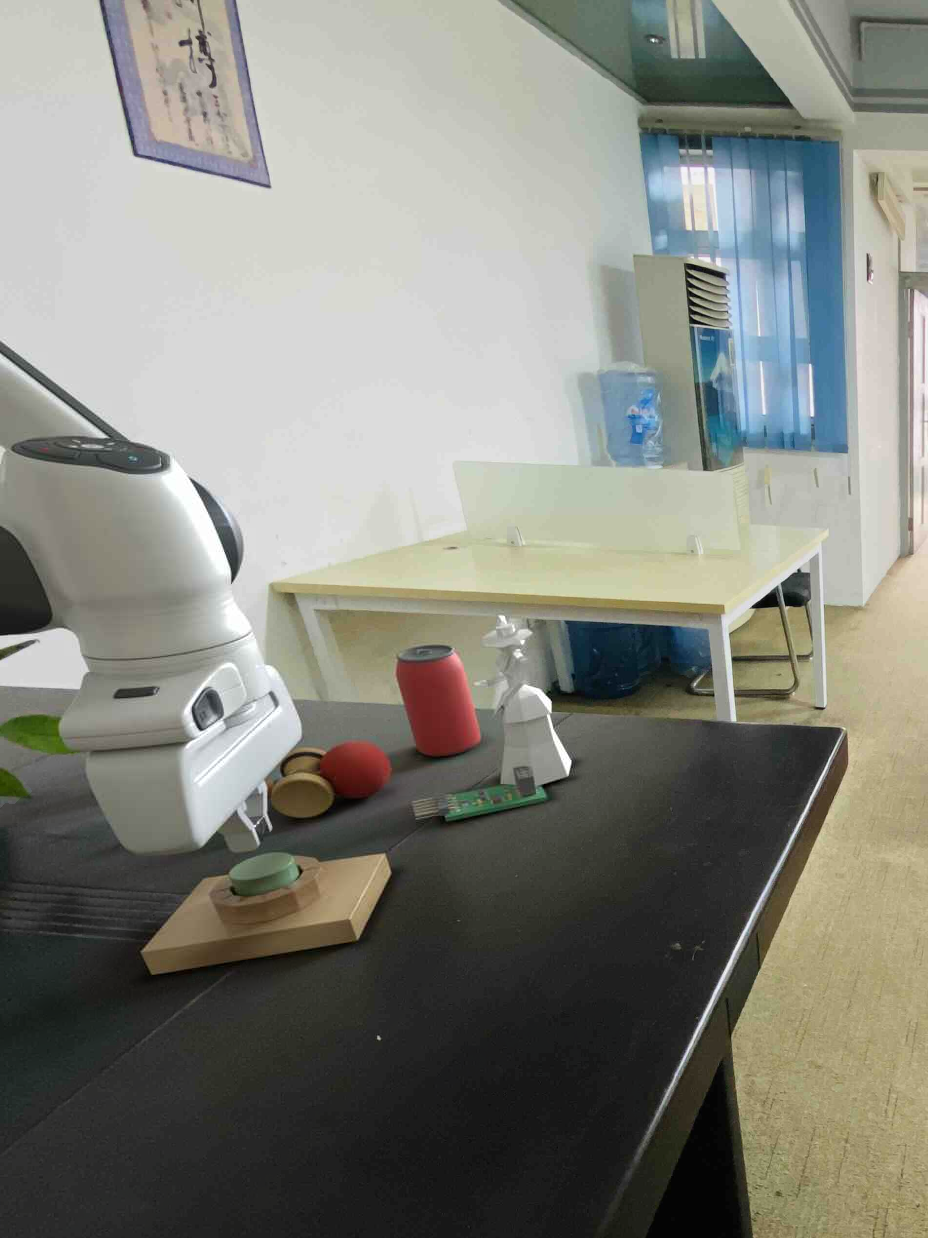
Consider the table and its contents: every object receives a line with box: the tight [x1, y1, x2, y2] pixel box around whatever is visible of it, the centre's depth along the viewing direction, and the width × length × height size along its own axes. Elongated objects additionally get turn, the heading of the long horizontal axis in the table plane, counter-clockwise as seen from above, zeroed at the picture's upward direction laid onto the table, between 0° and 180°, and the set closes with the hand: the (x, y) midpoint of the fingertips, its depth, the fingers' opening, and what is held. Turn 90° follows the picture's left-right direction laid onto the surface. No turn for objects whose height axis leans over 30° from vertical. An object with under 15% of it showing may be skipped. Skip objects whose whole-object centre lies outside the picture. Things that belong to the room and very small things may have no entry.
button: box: [228, 852, 300, 897], centre depth 65 cm, size 4×4×2 cm
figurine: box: [473, 615, 572, 786], centre depth 88 cm, size 7×8×18 cm
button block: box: [140, 853, 392, 976], centre depth 66 cm, size 13×10×4 cm
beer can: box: [395, 644, 482, 757], centre depth 94 cm, size 7×7×12 cm
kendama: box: [265, 740, 393, 819], centre depth 82 cm, size 8×6×18 cm
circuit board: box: [411, 766, 549, 822], centre depth 84 cm, size 12×3×5 cm
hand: (252, 842), depth 64 cm, fingers closed
